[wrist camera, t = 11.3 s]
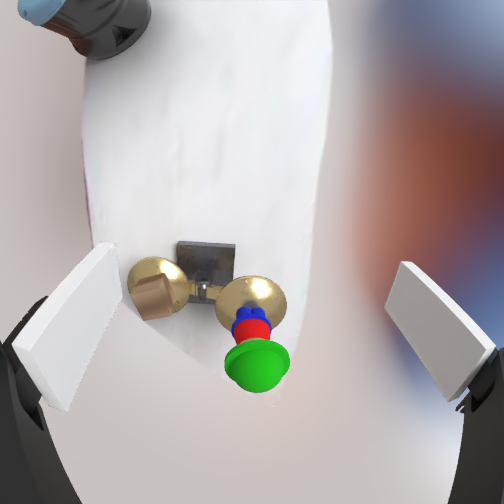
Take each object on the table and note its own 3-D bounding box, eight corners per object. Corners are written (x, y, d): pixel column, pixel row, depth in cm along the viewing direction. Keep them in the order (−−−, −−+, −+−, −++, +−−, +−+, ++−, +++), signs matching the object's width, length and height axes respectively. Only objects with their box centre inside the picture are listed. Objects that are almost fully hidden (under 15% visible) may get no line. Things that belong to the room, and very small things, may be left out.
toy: (279, 288, 40) (301, 363, 26) (273, 328, 43) (288, 403, 29) (226, 286, 39) (224, 364, 25) (224, 327, 42) (224, 405, 29)
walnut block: (138, 279, 42) (129, 295, 38) (165, 272, 42) (157, 288, 37) (150, 303, 44) (143, 321, 40) (176, 297, 44) (171, 315, 40)
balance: (136, 238, 46) (114, 265, 36) (281, 247, 49) (293, 277, 39) (141, 293, 51) (125, 327, 41) (272, 302, 54) (280, 338, 44)
